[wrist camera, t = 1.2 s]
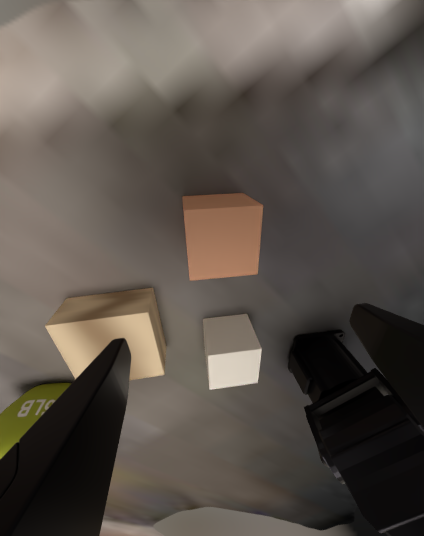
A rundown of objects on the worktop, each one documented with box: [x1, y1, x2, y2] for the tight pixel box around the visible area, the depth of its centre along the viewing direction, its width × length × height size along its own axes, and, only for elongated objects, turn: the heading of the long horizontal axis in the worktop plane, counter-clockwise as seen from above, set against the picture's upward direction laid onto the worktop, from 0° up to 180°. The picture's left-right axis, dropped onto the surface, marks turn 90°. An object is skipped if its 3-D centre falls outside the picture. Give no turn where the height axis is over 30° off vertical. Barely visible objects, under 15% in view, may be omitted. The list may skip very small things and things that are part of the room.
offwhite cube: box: [203, 314, 262, 390], centre depth 23 cm, size 5×5×5 cm
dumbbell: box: [0, 383, 72, 459], centre depth 25 cm, size 16×8×7 cm, turn 175°
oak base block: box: [45, 288, 166, 380], centre depth 21 cm, size 8×8×4 cm
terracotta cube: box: [182, 193, 263, 281], centre depth 17 cm, size 5×5×5 cm
